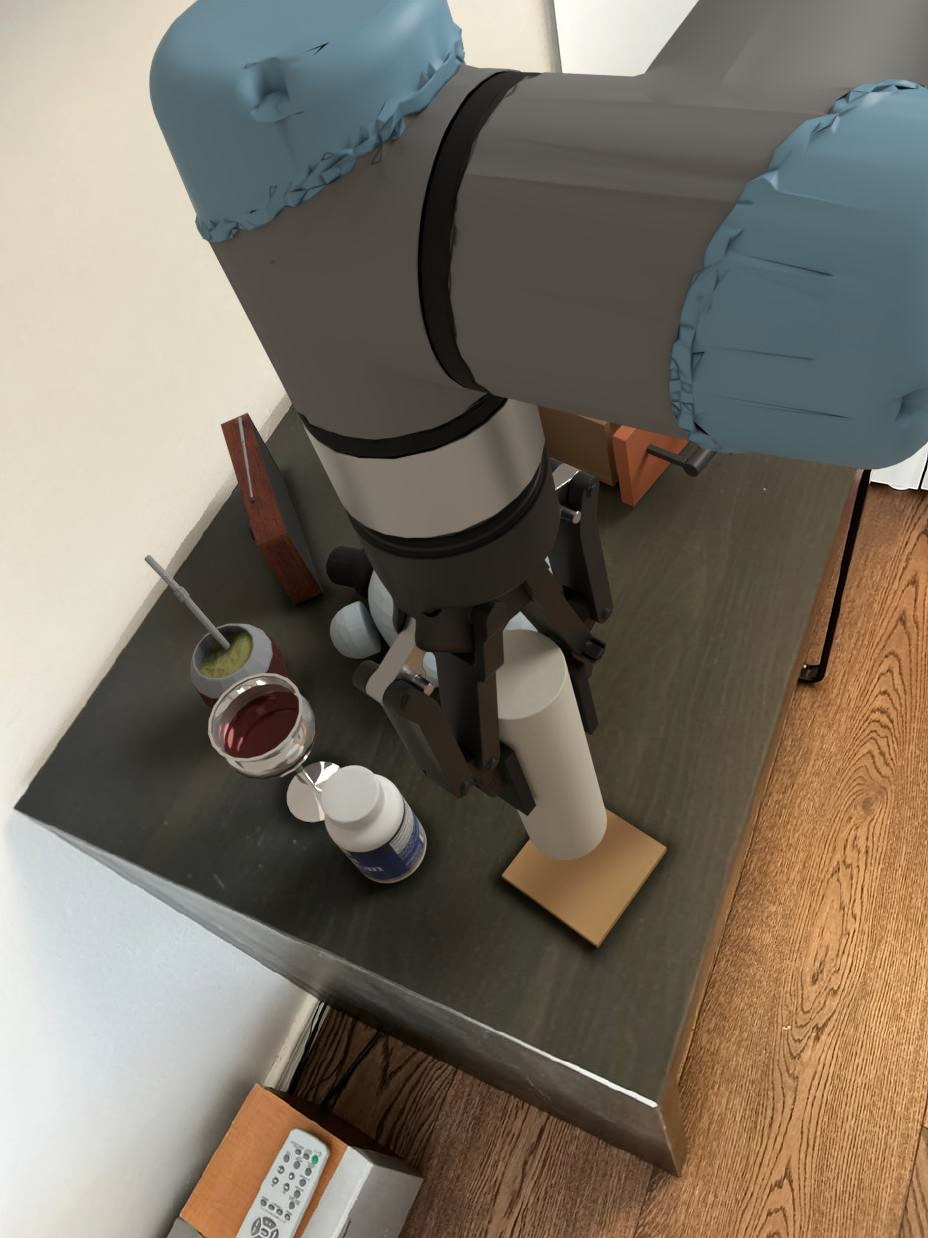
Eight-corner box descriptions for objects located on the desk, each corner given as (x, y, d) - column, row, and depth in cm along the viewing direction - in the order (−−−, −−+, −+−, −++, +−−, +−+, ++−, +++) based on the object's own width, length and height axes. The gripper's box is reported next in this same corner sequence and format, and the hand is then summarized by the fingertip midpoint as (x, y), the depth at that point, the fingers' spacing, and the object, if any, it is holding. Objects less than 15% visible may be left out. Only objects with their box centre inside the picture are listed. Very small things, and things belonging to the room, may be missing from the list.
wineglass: (350, 739, 76) (294, 658, 66) (368, 814, 72) (311, 740, 62) (269, 769, 76) (201, 693, 66) (283, 846, 72) (213, 777, 62)
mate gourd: (293, 743, 77) (211, 640, 65) (204, 739, 79) (109, 639, 67) (315, 662, 81) (242, 552, 69) (230, 661, 83) (145, 553, 71)
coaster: (667, 850, 65) (666, 847, 65) (597, 948, 63) (596, 945, 62) (571, 789, 69) (570, 785, 69) (502, 878, 67) (501, 875, 66)
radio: (253, 486, 95) (183, 369, 83) (282, 474, 95) (215, 355, 83) (297, 625, 84) (222, 513, 72) (329, 611, 84) (260, 496, 72)
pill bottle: (344, 873, 70) (294, 820, 62) (374, 805, 72) (330, 746, 64) (410, 895, 67) (368, 842, 60) (439, 825, 70) (402, 765, 62)
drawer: (759, 436, 82) (761, 365, 76) (684, 529, 79) (679, 462, 72) (583, 371, 92) (572, 303, 85) (508, 452, 88) (490, 387, 82)
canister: (623, 811, 60) (587, 658, 45) (575, 876, 58) (522, 738, 44) (558, 770, 62) (505, 612, 48) (510, 831, 61) (441, 687, 46)
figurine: (602, 556, 80) (403, 524, 90) (578, 485, 73) (367, 459, 83) (517, 734, 72) (311, 678, 82) (483, 673, 66) (263, 619, 76)
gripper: (514, 284, 39) (585, 610, 58) (193, 600, 33) (387, 849, 52) (674, 336, 35) (694, 668, 54) (343, 704, 29) (495, 933, 48)
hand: (544, 756), depth 53 cm, fingers closed on canister, 5 cm apart
